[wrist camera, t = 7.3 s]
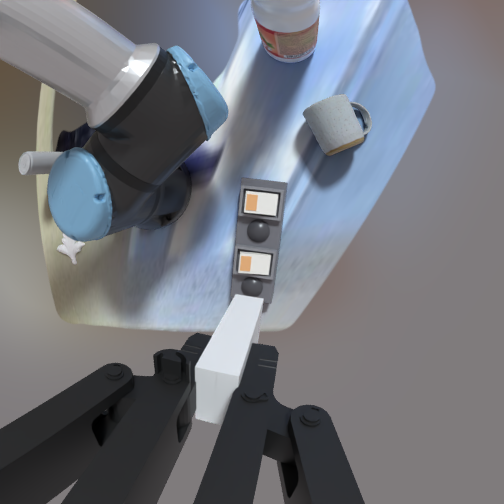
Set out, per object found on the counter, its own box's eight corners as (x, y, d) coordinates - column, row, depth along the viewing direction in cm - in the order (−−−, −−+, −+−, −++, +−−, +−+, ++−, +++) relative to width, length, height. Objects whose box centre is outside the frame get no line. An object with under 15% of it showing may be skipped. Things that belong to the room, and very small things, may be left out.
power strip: (234, 289, 52) (229, 299, 48) (245, 177, 47) (240, 177, 43) (272, 295, 52) (270, 306, 47) (287, 182, 46) (286, 182, 42)
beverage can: (54, 170, 53) (16, 173, 42) (58, 150, 52) (20, 150, 40) (66, 174, 53) (28, 177, 41) (70, 153, 51) (32, 153, 40)
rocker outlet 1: (244, 211, 44) (243, 212, 43) (246, 190, 43) (246, 191, 42) (275, 214, 44) (275, 215, 43) (277, 194, 43) (278, 194, 42)
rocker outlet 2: (238, 270, 46) (238, 272, 45) (239, 251, 45) (240, 253, 44) (267, 272, 47) (268, 275, 46) (270, 253, 46) (271, 255, 45)
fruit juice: (306, 71, 41) (309, -32, 14) (255, 55, 42) (211, -45, 15) (323, 32, 38) (335, -74, 12) (274, 17, 39) (248, -87, 12)
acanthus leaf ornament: (59, 248, 58) (54, 250, 57) (67, 225, 56) (61, 226, 55) (78, 267, 58) (73, 269, 56) (86, 243, 56) (81, 245, 55)
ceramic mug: (323, 160, 45) (329, 156, 37) (301, 117, 43) (302, 105, 36) (377, 137, 42) (392, 129, 35) (355, 95, 41) (365, 80, 34)
